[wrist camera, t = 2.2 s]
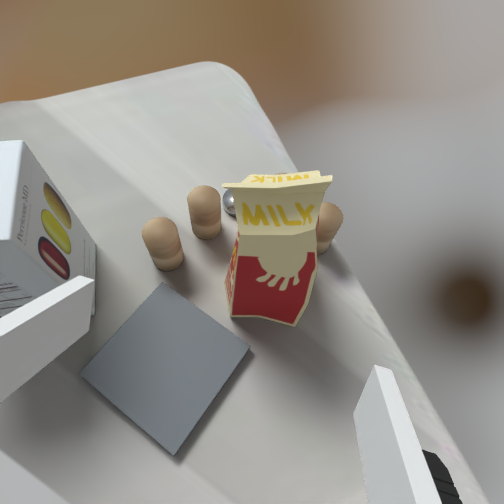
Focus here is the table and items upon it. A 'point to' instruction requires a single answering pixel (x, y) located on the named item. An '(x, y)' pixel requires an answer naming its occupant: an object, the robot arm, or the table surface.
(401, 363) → the table surface
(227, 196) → the silver metal dome
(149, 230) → the posts
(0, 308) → the supplement box
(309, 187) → the milk carton
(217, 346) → the mat
